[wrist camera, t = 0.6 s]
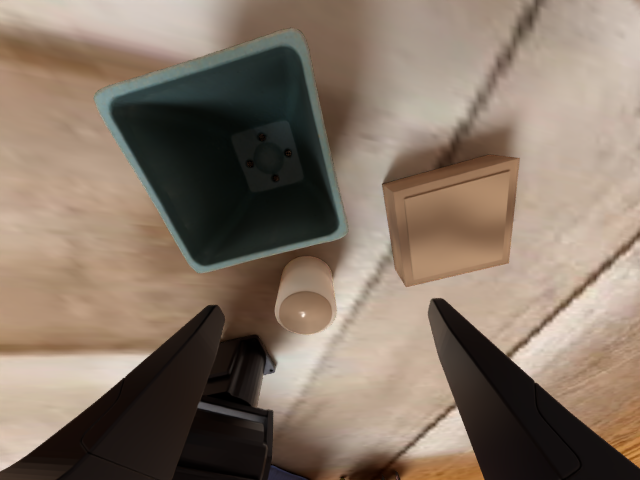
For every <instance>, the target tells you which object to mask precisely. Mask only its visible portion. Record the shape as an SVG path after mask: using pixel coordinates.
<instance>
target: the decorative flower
mask: <svg viewBox="0 0 640 480" xmlns="http://www.w3.org/2000/svg"><path fill="white" fill-rule="evenodd" d="M395 474H396V480H400V477H399V474H398V472H397V471H395ZM382 477H383V478H381V477H380V478H381V480H385V478H384V476H383V475H382ZM340 480H345V479H344V478H341V479H340Z"/></svg>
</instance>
